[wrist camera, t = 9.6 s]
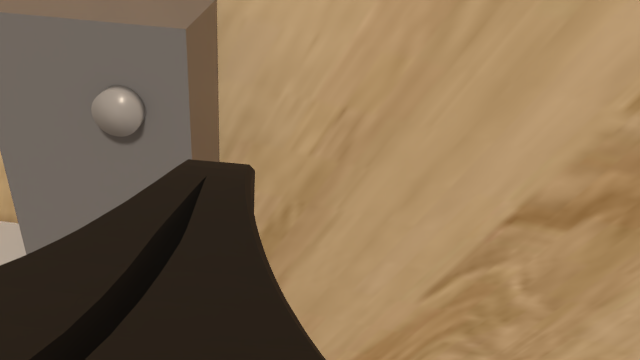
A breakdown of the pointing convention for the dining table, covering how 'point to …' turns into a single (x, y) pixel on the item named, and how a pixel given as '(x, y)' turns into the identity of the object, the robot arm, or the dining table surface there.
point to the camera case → (101, 103)
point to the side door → (10, 242)
